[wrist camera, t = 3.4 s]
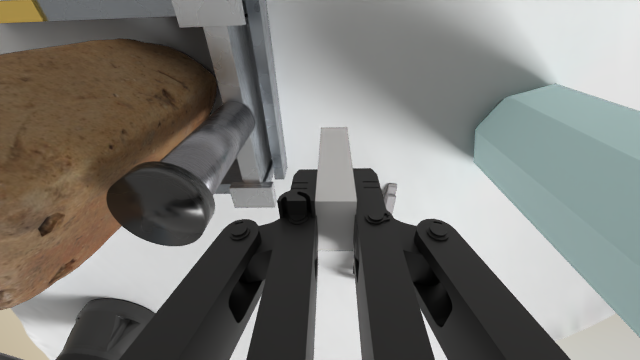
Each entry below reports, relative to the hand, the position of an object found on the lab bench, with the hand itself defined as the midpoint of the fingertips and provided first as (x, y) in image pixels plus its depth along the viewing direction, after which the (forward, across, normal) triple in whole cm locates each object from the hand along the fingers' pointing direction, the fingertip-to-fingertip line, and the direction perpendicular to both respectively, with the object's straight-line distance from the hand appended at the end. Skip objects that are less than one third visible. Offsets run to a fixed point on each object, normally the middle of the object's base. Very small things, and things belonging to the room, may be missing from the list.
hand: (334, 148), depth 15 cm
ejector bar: (+11, -8, 0) cm, 13 cm away
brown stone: (+12, -16, 0) cm, 20 cm away
